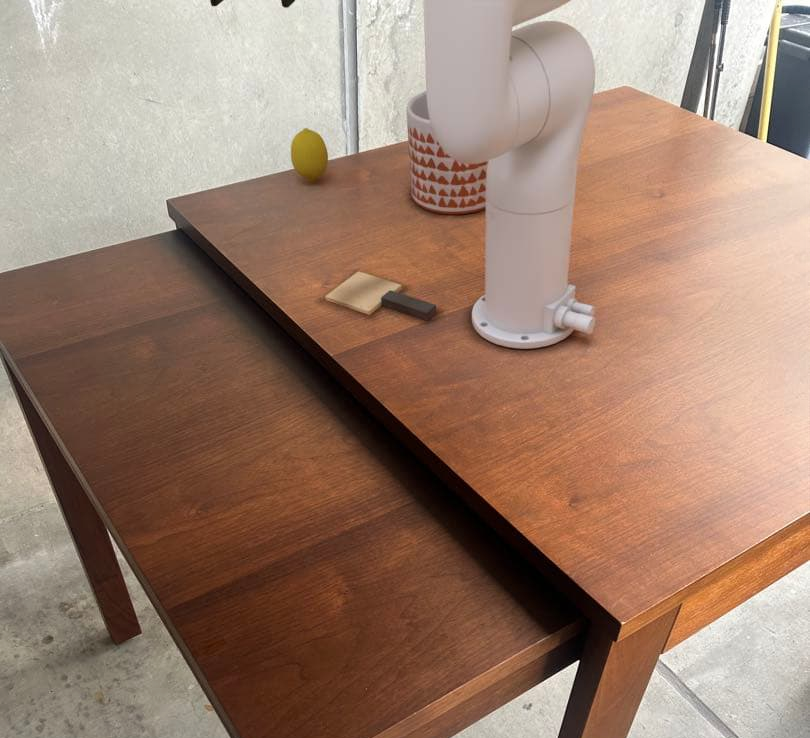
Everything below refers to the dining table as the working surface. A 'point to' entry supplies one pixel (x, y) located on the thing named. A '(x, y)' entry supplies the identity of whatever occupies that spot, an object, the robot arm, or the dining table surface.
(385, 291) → the spatula
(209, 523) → the dining table surface
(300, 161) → the lemon
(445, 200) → the planter
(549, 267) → the robot arm
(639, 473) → the dining table surface
